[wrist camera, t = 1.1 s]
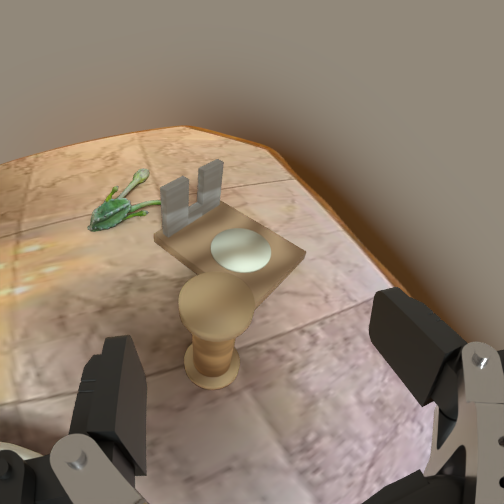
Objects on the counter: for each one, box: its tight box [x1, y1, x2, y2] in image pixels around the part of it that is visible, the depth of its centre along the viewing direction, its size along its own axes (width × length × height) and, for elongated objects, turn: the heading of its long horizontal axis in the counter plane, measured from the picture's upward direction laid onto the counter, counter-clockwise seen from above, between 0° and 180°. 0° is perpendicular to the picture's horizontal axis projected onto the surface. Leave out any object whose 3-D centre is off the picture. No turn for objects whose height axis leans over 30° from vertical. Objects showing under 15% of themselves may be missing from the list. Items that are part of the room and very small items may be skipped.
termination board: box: [154, 159, 306, 310], centre depth 43 cm, size 18×13×10 cm
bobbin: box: [178, 272, 255, 390], centre depth 29 cm, size 6×6×12 cm
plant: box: [87, 169, 161, 232], centre depth 49 cm, size 15×16×6 cm
